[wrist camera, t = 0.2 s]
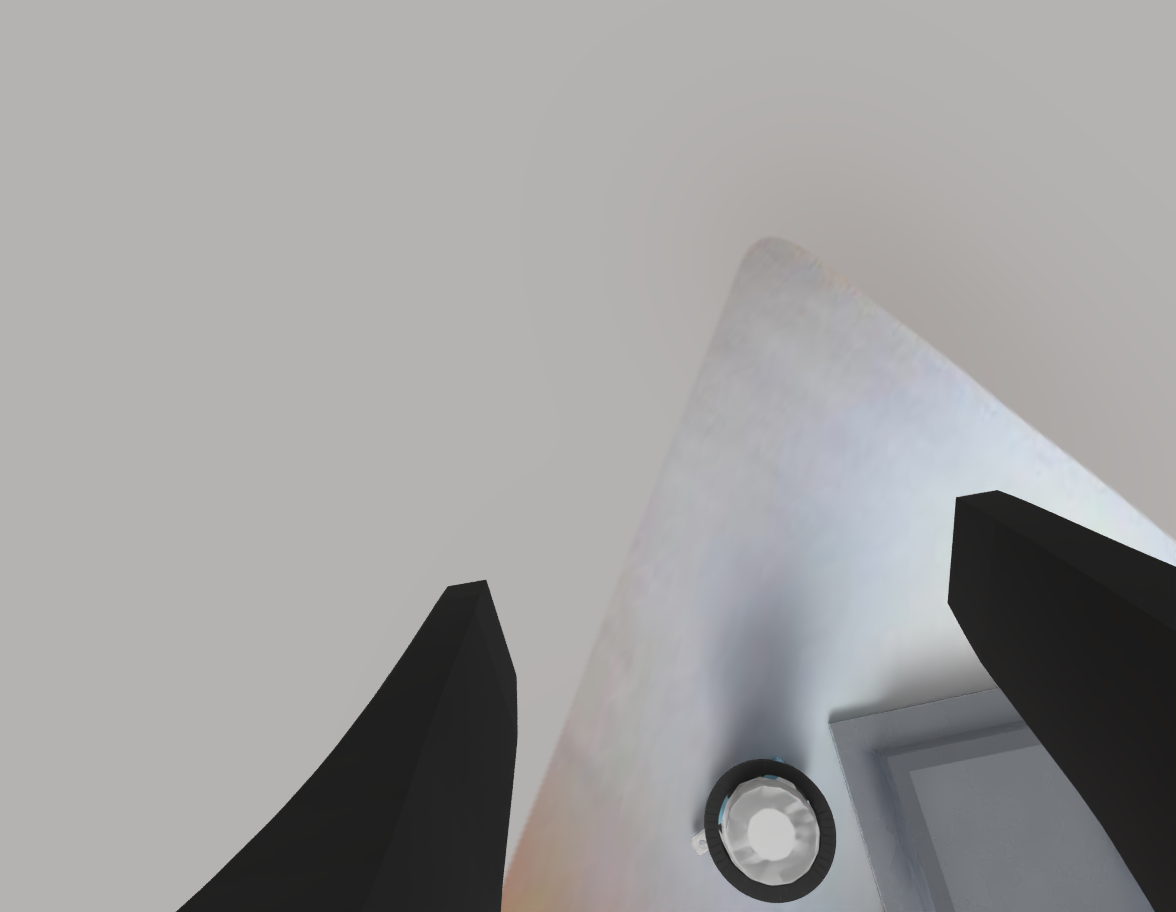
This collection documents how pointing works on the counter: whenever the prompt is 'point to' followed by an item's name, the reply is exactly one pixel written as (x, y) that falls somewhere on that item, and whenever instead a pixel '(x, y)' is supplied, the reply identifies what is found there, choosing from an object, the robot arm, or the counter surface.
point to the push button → (768, 831)
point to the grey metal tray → (975, 814)
